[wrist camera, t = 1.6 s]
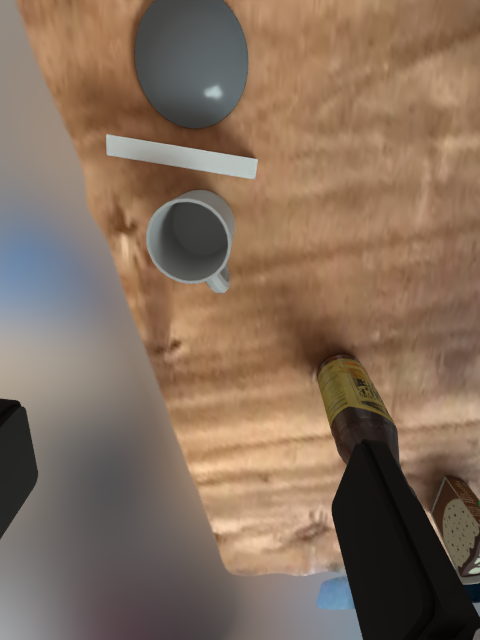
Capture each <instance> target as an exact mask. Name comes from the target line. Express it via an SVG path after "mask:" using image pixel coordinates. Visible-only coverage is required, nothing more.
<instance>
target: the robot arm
mask: <svg viewBox="0 0 480 640" xmlns="http://www.w3.org/2000/svg"><path fill="white" fill-rule="evenodd" d="M37 478H38V470H37V465H36V460H35V455H34V449H33V444H32V439H31V434H30V429H29V423H28V418H27V413H26V409H25V408H24V407H22V406H21V404H20V402H19V401H16V400H8V399H0V539H1V537H2V536H3V534H4V533H5V531H6V530H7V528H8V527H9V525H10V523H11V522H12V520H13V519H14V517H15V516H16V514H17V513H18V511H19V509H20V508H21V506H22V505H23V503H24V502H25V500H26V499H27V497H28V496H29V494H30V493H31V491H32V489H33V488H34V486H35V484H36V481H37ZM332 517H333V521H334V525H335V529H336V533H337V537H338V541H339V545H340V549H341V553H342V557H343V561H344V565H345V569H346V573H347V577H348V581H349V585H350V589H351V593H352V597H353V601H354V605H355V609H356V613H357V617H358V621H359V625H360V629H361V633H362V637H363V640H480V617H479V615H478V613H477V611H476V609H475V608H474V606H473V604H472V602H471V600H470V598H469V596H468V594H467V592H466V590H465V588H464V586H463V584H462V582H461V580H460V579H459V577H458V575H457V573H456V571H455V569H454V567H453V565H452V563H451V561H450V559H449V557H448V555H447V553H446V552H445V550H444V548H443V546H442V544H441V542H440V540H439V538H438V536H437V534H436V532H435V530H434V528H433V526H432V525H431V523H430V521H429V519H428V517H427V515H426V513H425V511H424V509H423V507H422V505H421V503H420V502H419V500H418V499H417V497H416V496H414V495H413V494H412V492H411V490H410V488H409V486H408V484H407V482H406V480H405V478H404V476H403V474H402V472H401V470H400V468H399V467H398V465H397V463H396V461H395V459H394V457H393V455H392V453H391V451H390V449H389V447H388V445H387V444H386V442H384V441H378V440H369V439H363V440H362V441H361V443H360V444H356V445H355V446H354V449H353V452H352V454H351V457H350V459H349V462H348V464H347V467H346V469H345V472H344V474H343V477H342V480H341V482H340V485H339V487H338V490H337V492H336V495H335V497H334V500H333V503H332Z"/></svg>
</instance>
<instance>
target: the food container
mask: <svg viewBox="0 0 480 640" xmlns="http://www.w3.org/2000/svg"><path fill="white" fill-rule="evenodd" d="M431 516H432V518H433V520H434V522H435V525H436V527H437V529H438V531H439V533H440V536H441V538H442V540H443V542H444V544H445V547H446V549H447V551H448V553H449V555H450V558H451V560H452V562H453V564H454V566H455V569H456V570H455V571H456V573H457V575H458V577H459V579H460V580H461V582H462V584H476V583H480V500H479V499H478V498H477V497H476V495H475V494H474V493H473V492H472V490H471V489H470V488H469V486H468V485H467V484H466V483H465V482H464V481H463V480H461V479H459V478H456V477H451V476H445V477H444V479H443V482H442V484H441V487H440V490H439V492H438V495H437V497H436V500H435V503H434V505H433V508H432V510H431Z"/></svg>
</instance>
